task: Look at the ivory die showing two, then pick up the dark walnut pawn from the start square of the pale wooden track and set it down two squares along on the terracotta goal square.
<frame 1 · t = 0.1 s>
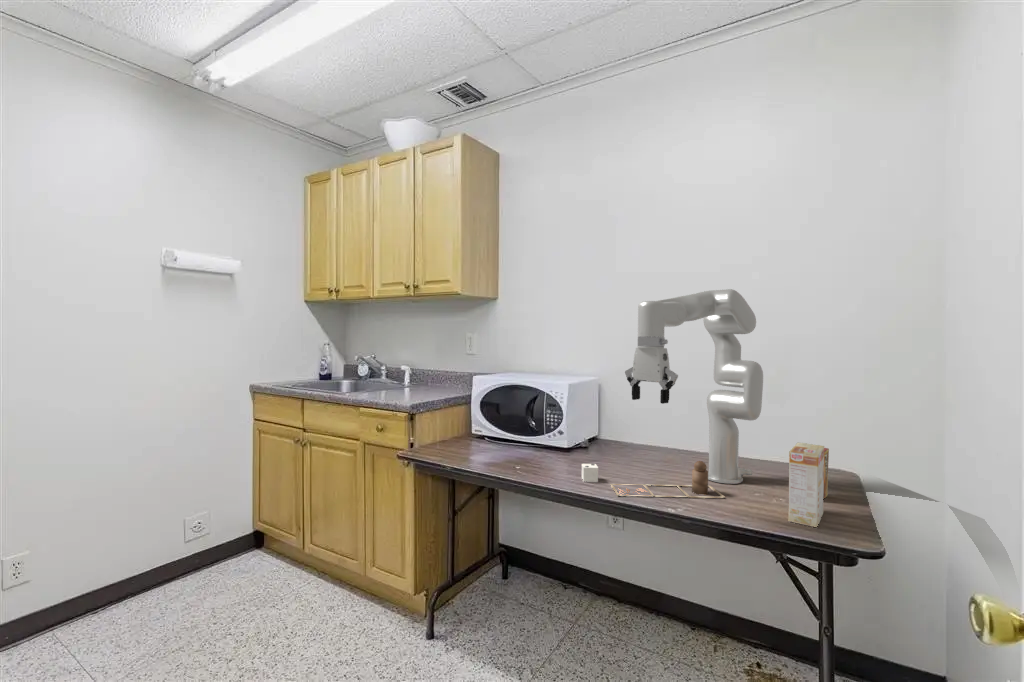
hand: (649, 401, 138), 31 cm above the table, tool pointing down, fingers open, 9 cm apart
candy box: (817, 498, 148), on the table
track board: (665, 491, 152), on the table
die: (589, 480, 163), on the table
coffeecake box: (806, 518, 132), on the table
pawn: (699, 492, 152), resting in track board
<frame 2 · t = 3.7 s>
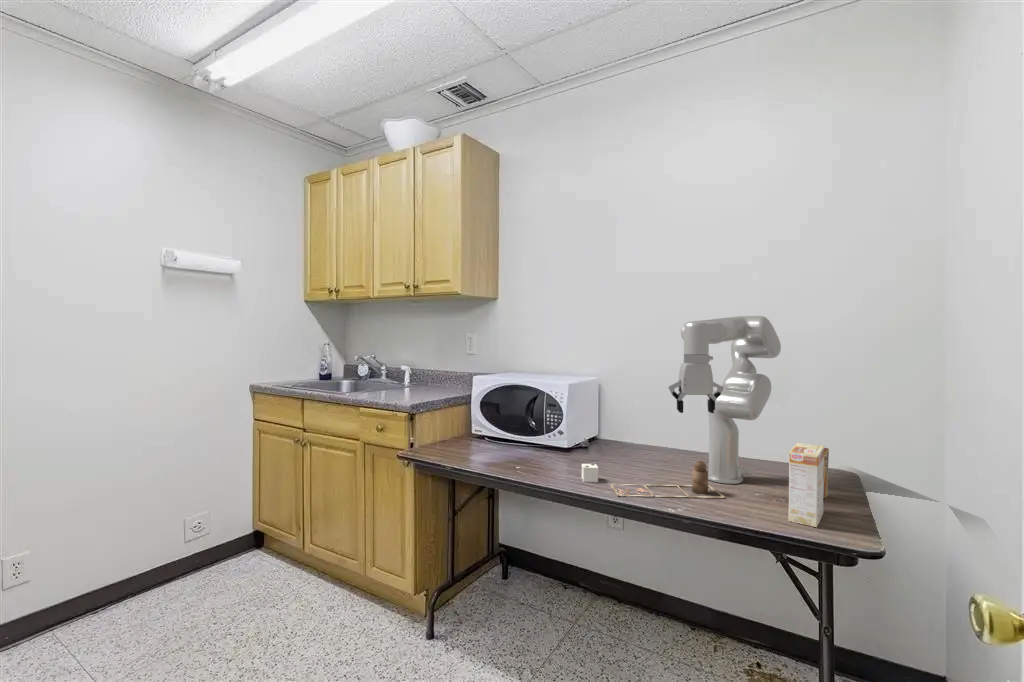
hand: (695, 412, 152), 26 cm above the table, tool pointing down, fingers open, 9 cm apart
nothing on the table moved.
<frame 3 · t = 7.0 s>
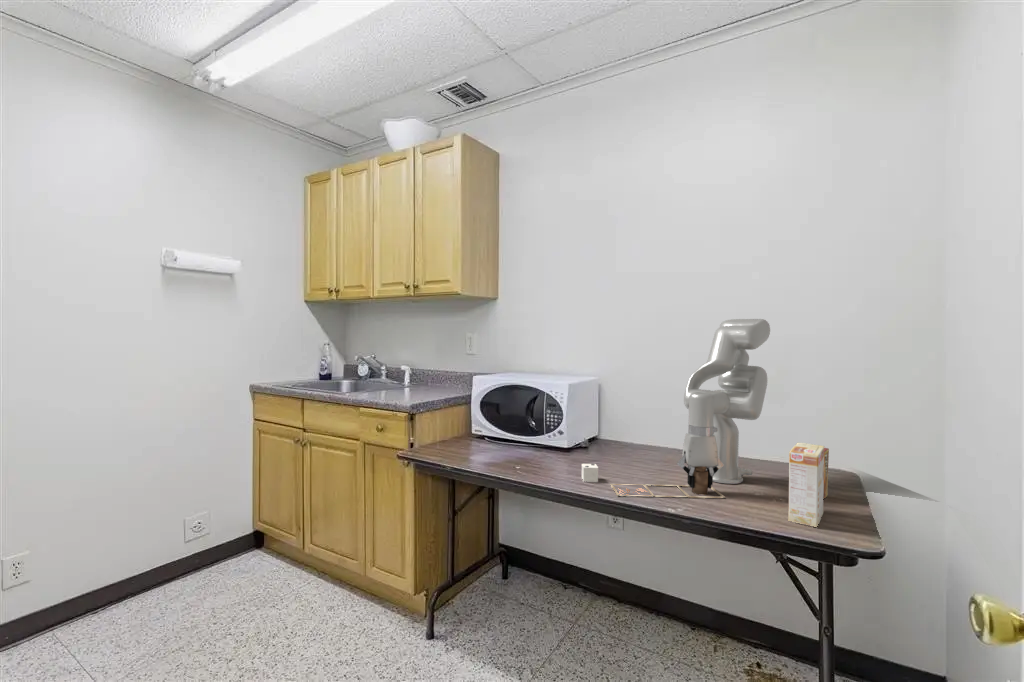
hand: (699, 486, 152), 2 cm above the table, tool pointing down, fingers closed on pawn, 4 cm apart
pawn: (699, 492, 152), resting in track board, touching gripper
everything else where it was.
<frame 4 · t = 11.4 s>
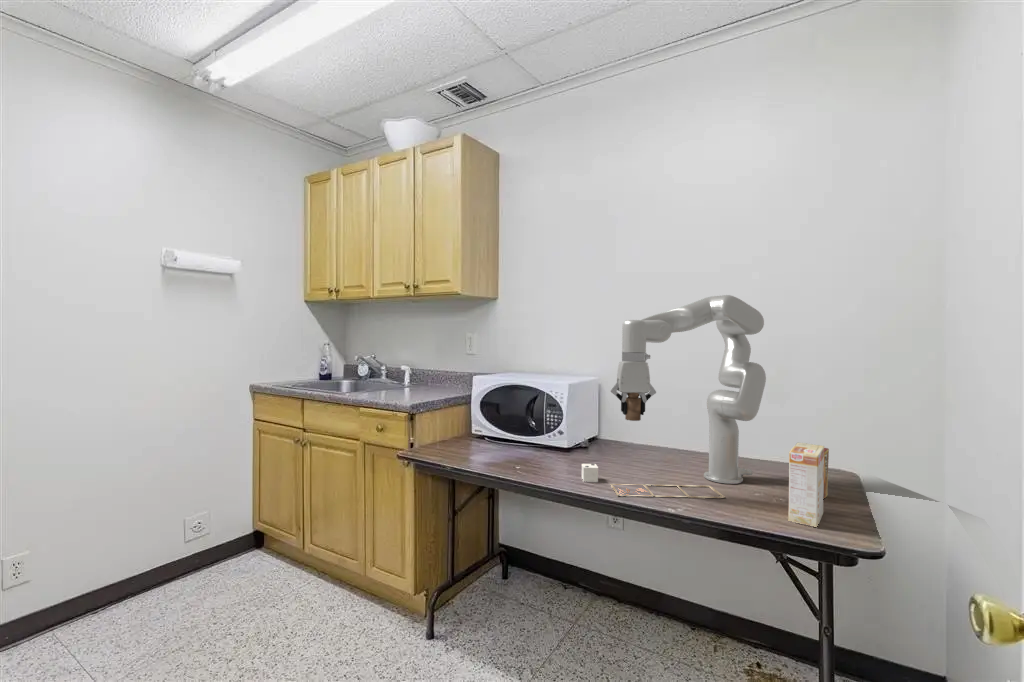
hand: (632, 413, 152), 25 cm above the table, tool pointing down, fingers closed on pawn, 4 cm apart
pawn: (632, 419, 152), point 23 cm above the table, touching gripper
everything else where it was.
when the fingers open (3 cm above the table, at t = 15.9 s): pawn stays where it is, resting on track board.
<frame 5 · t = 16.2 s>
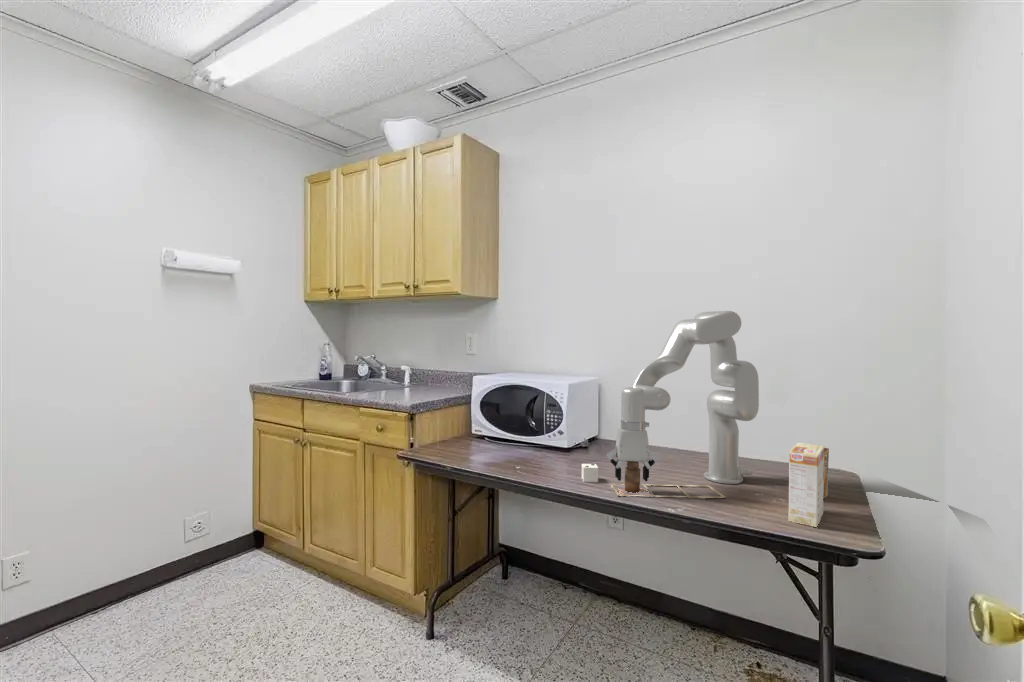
hand: (631, 479, 152), 4 cm above the table, tool pointing down, fingers open, 8 cm apart
pawn: (632, 490, 152), resting on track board
everything else where it was.
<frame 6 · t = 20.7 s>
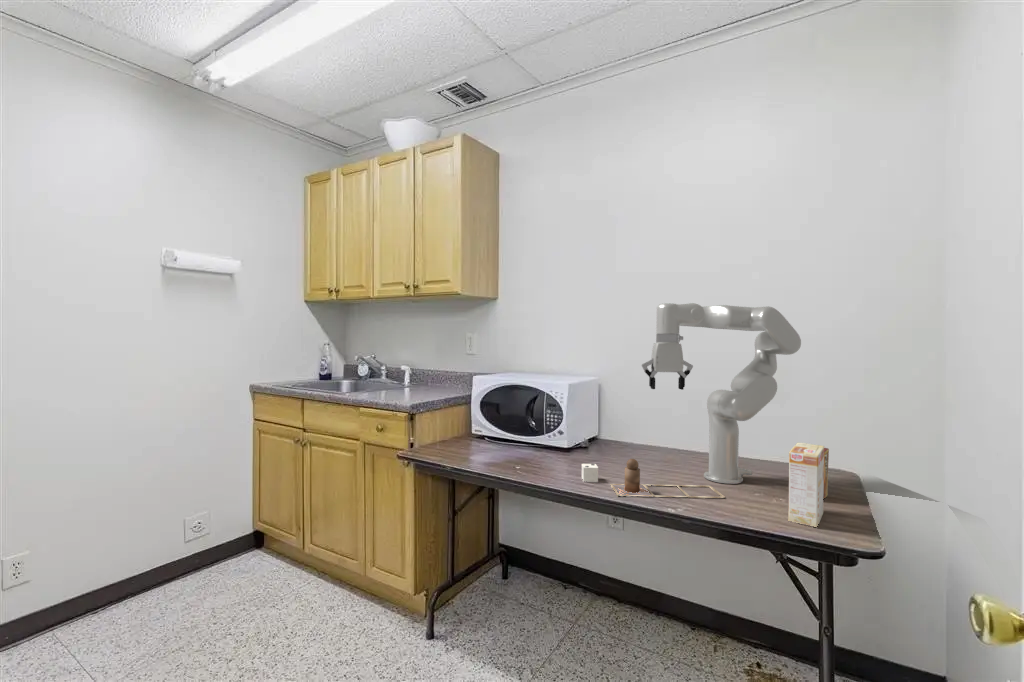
hand: (666, 388, 162), 32 cm above the table, tool pointing down, fingers open, 9 cm apart
nothing on the table moved.
at the end: pawn 0.1 cm from the target spot, resting on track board; pawn tilted 0°; the gripper is holding nothing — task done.
